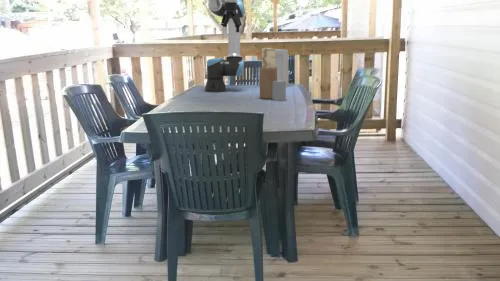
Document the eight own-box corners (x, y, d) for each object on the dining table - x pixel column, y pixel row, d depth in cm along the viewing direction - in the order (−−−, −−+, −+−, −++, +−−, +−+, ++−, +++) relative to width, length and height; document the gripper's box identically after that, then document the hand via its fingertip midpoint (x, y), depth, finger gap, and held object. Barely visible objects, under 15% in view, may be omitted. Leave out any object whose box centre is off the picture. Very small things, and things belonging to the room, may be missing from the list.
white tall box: (283, 84, 363) (284, 48, 356) (287, 87, 349) (288, 49, 342) (259, 85, 361) (260, 49, 354) (262, 87, 346) (263, 50, 339)
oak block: (261, 67, 295) (262, 48, 292) (269, 66, 298) (269, 47, 295) (267, 67, 290) (267, 48, 287) (274, 67, 293) (275, 48, 290)
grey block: (272, 99, 293) (272, 81, 290) (279, 98, 296) (280, 80, 293) (278, 101, 288) (278, 81, 285) (285, 100, 291) (285, 81, 288)
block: (274, 99, 293) (275, 68, 288) (259, 98, 295) (259, 67, 290) (277, 97, 303) (277, 66, 298) (262, 96, 305) (262, 66, 300)
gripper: (215, 2, 288) (215, 37, 293) (236, 1, 268) (236, 38, 273) (225, 3, 292) (225, 37, 297) (247, 1, 272) (247, 38, 278)
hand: (231, 37), depth 285 cm, fingers open, 13 cm apart
